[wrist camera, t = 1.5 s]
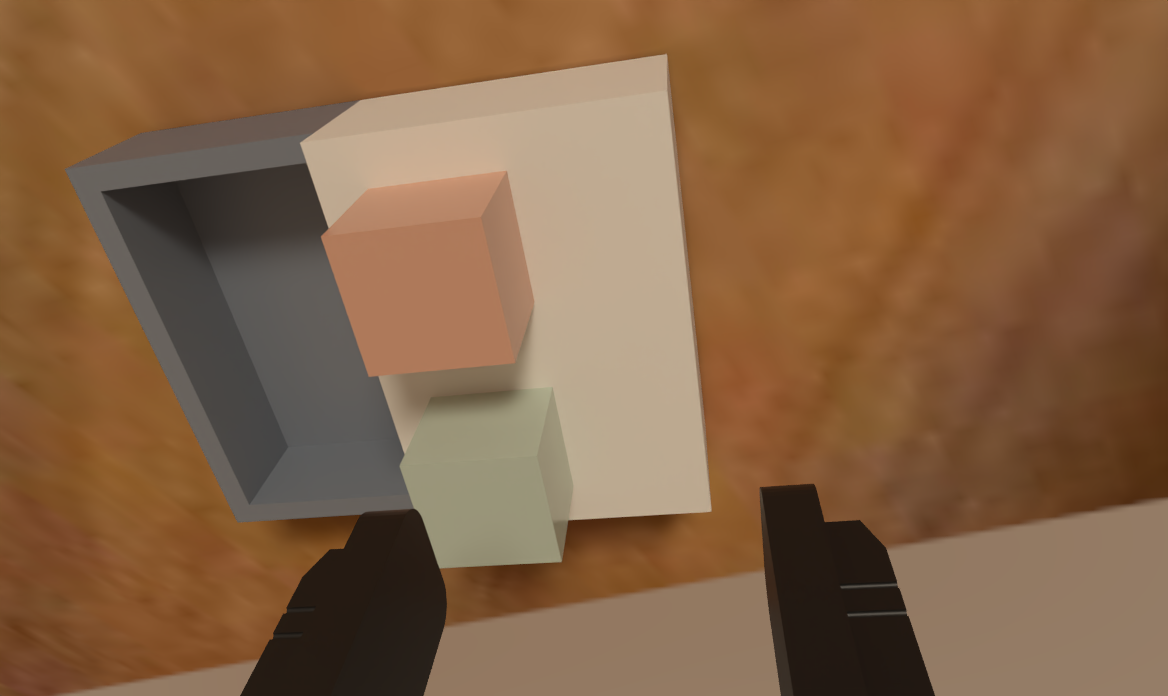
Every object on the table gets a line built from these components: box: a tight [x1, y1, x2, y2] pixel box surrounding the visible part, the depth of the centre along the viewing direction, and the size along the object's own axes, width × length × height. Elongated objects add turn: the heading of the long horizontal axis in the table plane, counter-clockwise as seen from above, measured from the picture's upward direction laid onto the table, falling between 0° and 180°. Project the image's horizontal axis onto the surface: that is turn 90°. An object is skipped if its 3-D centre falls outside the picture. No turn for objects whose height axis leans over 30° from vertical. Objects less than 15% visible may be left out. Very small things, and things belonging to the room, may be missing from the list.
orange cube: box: [321, 171, 535, 377], centre depth 21 cm, size 4×4×4 cm
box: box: [65, 100, 414, 522], centre depth 28 cm, size 8×14×4 cm, turn 9°
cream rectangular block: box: [300, 54, 711, 520], centre depth 26 cm, size 10×14×5 cm
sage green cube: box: [400, 387, 573, 568], centre depth 25 cm, size 4×4×4 cm
